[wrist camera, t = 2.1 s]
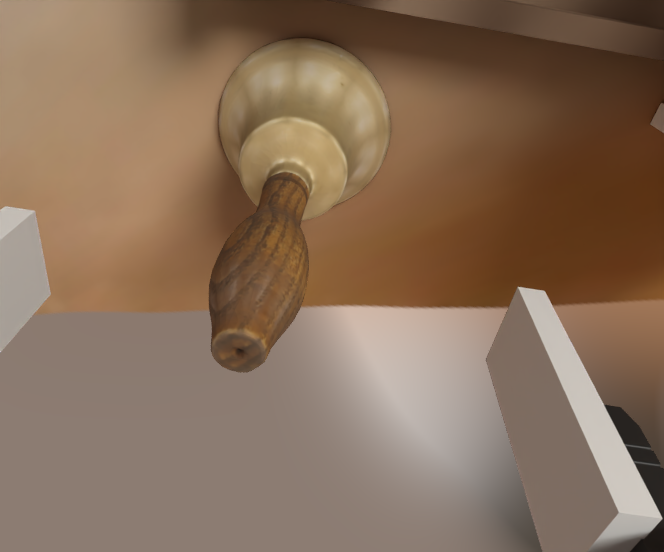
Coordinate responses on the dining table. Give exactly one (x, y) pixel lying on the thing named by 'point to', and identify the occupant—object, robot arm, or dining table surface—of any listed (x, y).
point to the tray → (551, 20)
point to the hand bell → (288, 180)
